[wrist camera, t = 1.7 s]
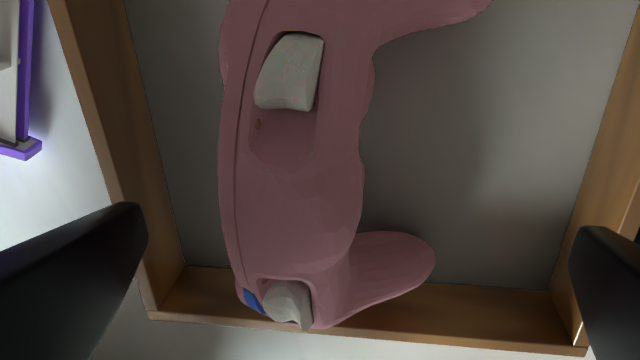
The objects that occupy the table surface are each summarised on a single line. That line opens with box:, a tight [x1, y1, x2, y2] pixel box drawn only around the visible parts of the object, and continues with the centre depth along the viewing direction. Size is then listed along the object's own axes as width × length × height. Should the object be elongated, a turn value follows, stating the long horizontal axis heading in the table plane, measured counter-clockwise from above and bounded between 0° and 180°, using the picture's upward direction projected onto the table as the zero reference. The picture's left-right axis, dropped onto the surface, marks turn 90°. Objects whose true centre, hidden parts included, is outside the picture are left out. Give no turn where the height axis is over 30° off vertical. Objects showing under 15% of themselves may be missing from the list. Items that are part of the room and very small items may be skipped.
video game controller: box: [218, 0, 493, 332], centre depth 11 cm, size 10×5×7 cm, turn 178°
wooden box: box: [47, 0, 640, 357], centre depth 12 cm, size 15×14×2 cm
